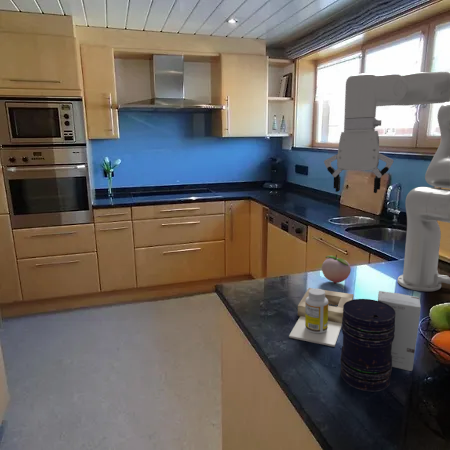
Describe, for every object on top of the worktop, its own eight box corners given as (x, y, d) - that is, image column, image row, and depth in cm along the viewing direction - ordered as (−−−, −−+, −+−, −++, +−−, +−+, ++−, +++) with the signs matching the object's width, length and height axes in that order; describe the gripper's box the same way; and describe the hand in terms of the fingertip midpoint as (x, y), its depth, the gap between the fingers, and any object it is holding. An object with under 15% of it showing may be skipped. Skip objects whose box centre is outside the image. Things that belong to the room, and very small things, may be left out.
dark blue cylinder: (332, 363, 81) (335, 300, 78) (376, 360, 82) (381, 297, 78) (351, 393, 71) (354, 323, 68) (400, 390, 72) (406, 319, 68)
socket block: (353, 303, 108) (353, 294, 108) (346, 324, 97) (347, 313, 96) (308, 296, 114) (309, 287, 113) (297, 315, 103) (297, 305, 102)
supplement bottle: (322, 322, 97) (323, 286, 95) (331, 333, 92) (332, 295, 90) (302, 324, 97) (302, 288, 94) (309, 335, 91) (310, 296, 89)
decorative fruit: (315, 283, 124) (316, 254, 122) (329, 276, 130) (330, 249, 127) (340, 291, 117) (342, 261, 115) (354, 283, 123) (355, 255, 120)
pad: (342, 325, 97) (342, 323, 97) (334, 346, 87) (334, 344, 87) (300, 317, 101) (300, 316, 101) (289, 337, 92) (289, 335, 92)
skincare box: (371, 363, 80) (375, 300, 77) (373, 349, 86) (377, 289, 82) (414, 372, 77) (421, 306, 73) (413, 356, 82) (419, 294, 79)
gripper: (396, 124, 95) (391, 190, 99) (327, 127, 103) (326, 188, 107) (395, 124, 89) (390, 195, 93) (322, 127, 96) (320, 192, 100)
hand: (356, 191), depth 100 cm, fingers open, 9 cm apart
